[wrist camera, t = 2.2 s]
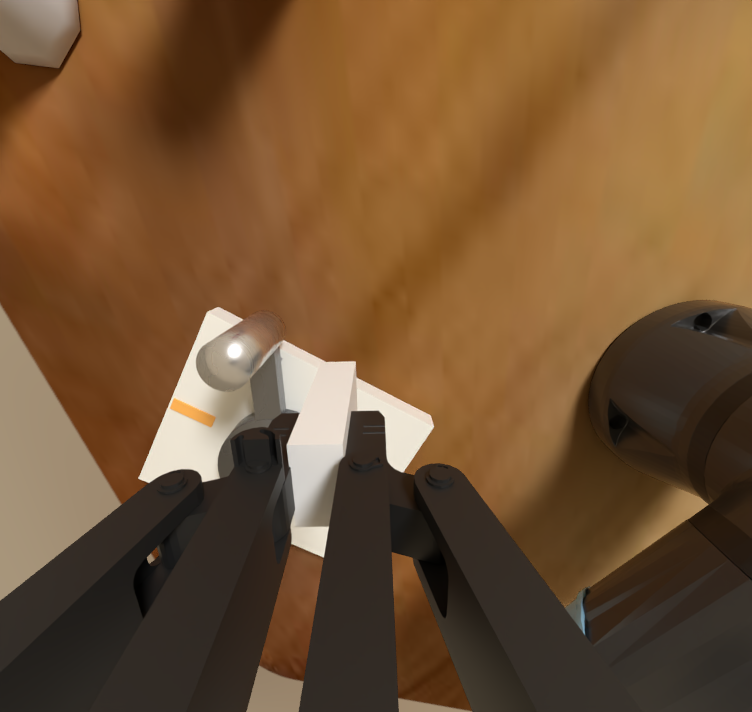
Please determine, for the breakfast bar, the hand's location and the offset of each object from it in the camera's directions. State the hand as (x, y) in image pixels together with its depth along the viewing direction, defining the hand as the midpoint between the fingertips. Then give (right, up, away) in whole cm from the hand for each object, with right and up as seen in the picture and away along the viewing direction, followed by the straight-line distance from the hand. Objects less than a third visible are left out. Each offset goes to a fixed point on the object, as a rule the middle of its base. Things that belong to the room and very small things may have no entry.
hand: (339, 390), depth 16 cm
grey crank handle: (-7, -3, +14) cm, 16 cm away
